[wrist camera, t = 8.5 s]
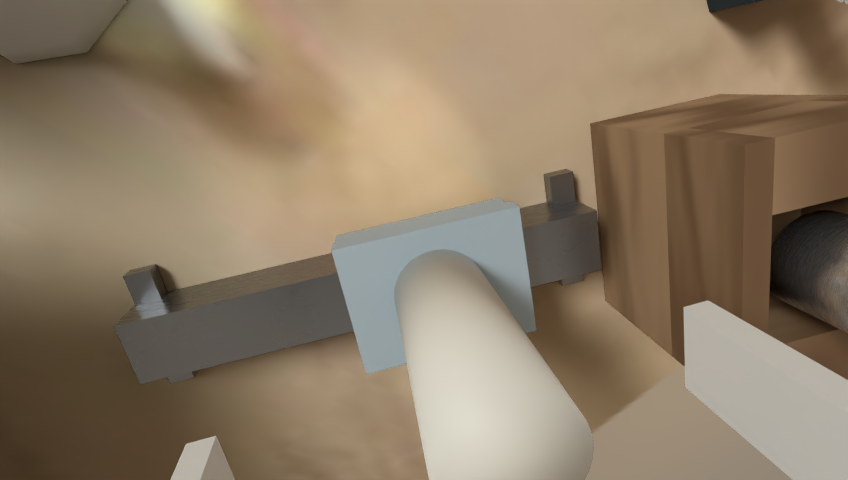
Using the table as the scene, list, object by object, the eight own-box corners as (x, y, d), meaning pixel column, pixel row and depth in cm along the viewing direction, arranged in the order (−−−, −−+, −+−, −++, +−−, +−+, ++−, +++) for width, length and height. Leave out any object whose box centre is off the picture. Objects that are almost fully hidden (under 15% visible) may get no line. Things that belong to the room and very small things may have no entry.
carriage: (364, 340, 24) (375, 599, 12) (334, 229, 22) (309, 402, 10) (515, 302, 25) (675, 512, 12) (498, 191, 23) (667, 310, 11)
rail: (176, 374, 25) (152, 411, 22) (130, 270, 23) (98, 295, 20) (577, 274, 26) (603, 297, 24) (566, 169, 24) (593, 179, 22)
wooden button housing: (605, 300, 27) (740, 413, 18) (590, 123, 24) (744, 144, 14) (719, 271, 28) (910, 365, 18) (719, 94, 24) (950, 96, 15)
